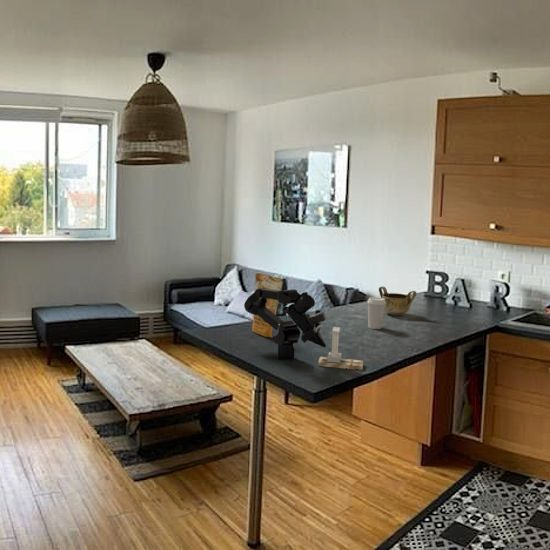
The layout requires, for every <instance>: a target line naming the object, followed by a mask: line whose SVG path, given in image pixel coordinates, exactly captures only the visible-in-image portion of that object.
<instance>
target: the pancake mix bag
mask: <svg viewBox="0 0 550 550" xmlns="http://www.w3.org/2000/svg"><path fill="white" fill-rule="evenodd" d="M283 281H284V280H283V279H282V278H281V277H278V276H277V277H276V276H273V275H271V274H270V275H269V274H266V273H259V272H257V273H254V289H253V291H254V292H255V291H256V289H258V288H267V289H273V290H283V286H284V285H283V284H284V282H283ZM254 292H253V293H254ZM278 305H279V302H278V300H274V299H268V298H267V303H266V308H267V309H269V310H270V311H271V312H272V313H274V314H275V315H276V316H277V309H278ZM252 319H253V320H252V328H251V330H252V331H253V333H254V334H257V335H260V336H261V337H264V338H274V336H273V329H274V328H273V327H271V326H270V325H269V324H268V323H267V322H265V321H264V320H263V319H262V318H260V317H259V316H258V315H254V314H253V318H252ZM252 331H251V332H252Z"/></svg>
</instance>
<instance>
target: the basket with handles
mask: <svg viewBox="0 0 550 550" xmlns="http://www.w3.org/2000/svg"><path fill="white" fill-rule="evenodd" d="M378 292H379V295H380V298H383V299H385V301H386V304H385V308H384V313H387V314H389V315H391V316H397V317H398V316H402V315H405V314H406V313H408V311H409V310H410V308H411V305H412V302H413V301H414V299H415V298H416V296H417V290H416V291H415V290H411V291H409V292H408V293H407V294H404V293H394V292H390V293H389V292H388V291H387V288H386V286H379V288H378ZM411 294H413V295H412V297H411Z"/></svg>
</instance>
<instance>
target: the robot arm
mask: <svg viewBox="0 0 550 550" xmlns="http://www.w3.org/2000/svg"><path fill="white" fill-rule="evenodd" d="M267 298H268V299H274V300H278V304H279V303H280V304H282V305H288V306H284V307H283V308H282V316H285V315H286V314H287V316H288V317H289V318H290V319H291V320H286V321H284V320H282V319H281V318H280V317H279V316H277V314H276V315H275V314H274V313H272V312H271V311H270V310H269V309H267V308H266V303H267ZM315 301H316V300H315V299H314V298H313V297H312V296H311V295H310V294H308V292H307V291H303V292H302V293H299V292H298V290H297V289H295V288H294V289H284V290H283V289H281V290H273V289H267V288H258V289H256V291H255V292H253V293H252V294H250V295H249V296H248V297H247V299H246V300H245V302H244V304H243V306H244V308H243V309H244V310H245V311H246V313H248V314H250V315H253V316H254V315H258V316H259V317H260V318H262V319H263V320H264V321H265V322H267V323H268V324H269V325H270V326H271V327H273V329H274V330H275V332H276V335H275V336H273V340H274V343H275V344H277V357H276V359H277V360H288V361H290V360H291V361H293V360H294V358H295V355H296V346H295V344H297V343H298V342H299V339H300V340H301V341H302V342H303V343H307V342H308V341H309V342H311V343H313V344H316V345H318V346H320V347H322V348H326V347H327V343H326V342H325V340H324V338H323V337H322V334H321V327H319V326H321V325H322V322H324V321H326V319H327V318H326V315H325V312H324V311H323V310H321V309H316V310H315V313H314V314H310V313H307V312H308V311H309V310H311V309H312V308H314V306H316V305H315V304H316V302H315ZM301 331H302V332H301ZM301 334H302V335H301ZM300 336H301V337H300Z"/></svg>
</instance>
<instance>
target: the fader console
mask: <svg viewBox="0 0 550 550" xmlns="http://www.w3.org/2000/svg"><path fill="white" fill-rule="evenodd" d="M327 357H328V356H320V357H319V358H318V363H317V366H318V367H325V368H326V367H327V368H328V367H329V368H337V369H346V368H347V369H349V370H356V369H358V370H357V371H359V370H360V371H363V370H362V369H363V368H364V360H360V359H359V360H358V359H352V358H351V359H348V358H341V360H340V363H336V362H327ZM347 369H346V370H347Z"/></svg>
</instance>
